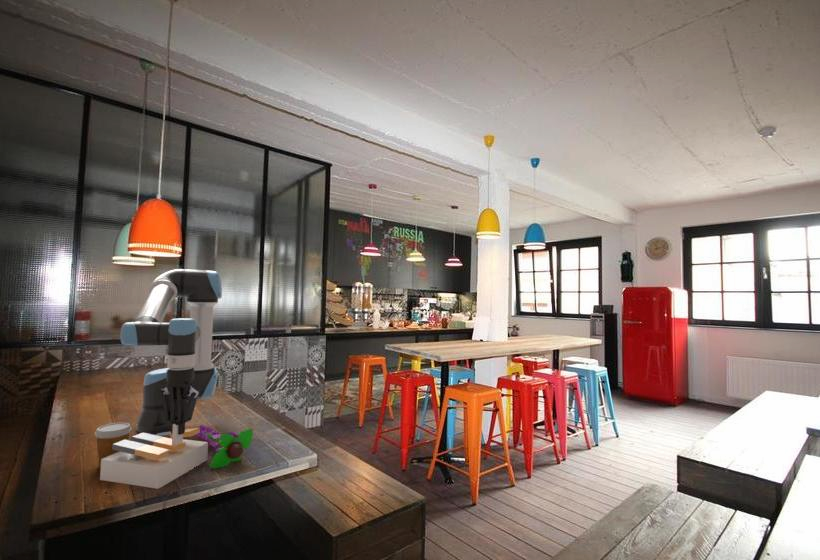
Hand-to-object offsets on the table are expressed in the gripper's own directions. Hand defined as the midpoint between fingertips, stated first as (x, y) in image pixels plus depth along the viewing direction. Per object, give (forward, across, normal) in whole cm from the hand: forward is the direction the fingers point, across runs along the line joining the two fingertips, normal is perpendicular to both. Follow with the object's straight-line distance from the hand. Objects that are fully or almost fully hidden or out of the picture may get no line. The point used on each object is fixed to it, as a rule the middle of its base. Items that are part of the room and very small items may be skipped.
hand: (177, 444), depth 124 cm
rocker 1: (0, -7, -6) cm, 9 cm away
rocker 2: (0, -7, +7) cm, 10 cm away
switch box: (+9, -7, 0) cm, 11 cm away
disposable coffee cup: (+9, -23, -1) cm, 25 cm away
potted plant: (+9, +1, +17) cm, 19 cm away
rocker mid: (0, -7, 0) cm, 7 cm away
